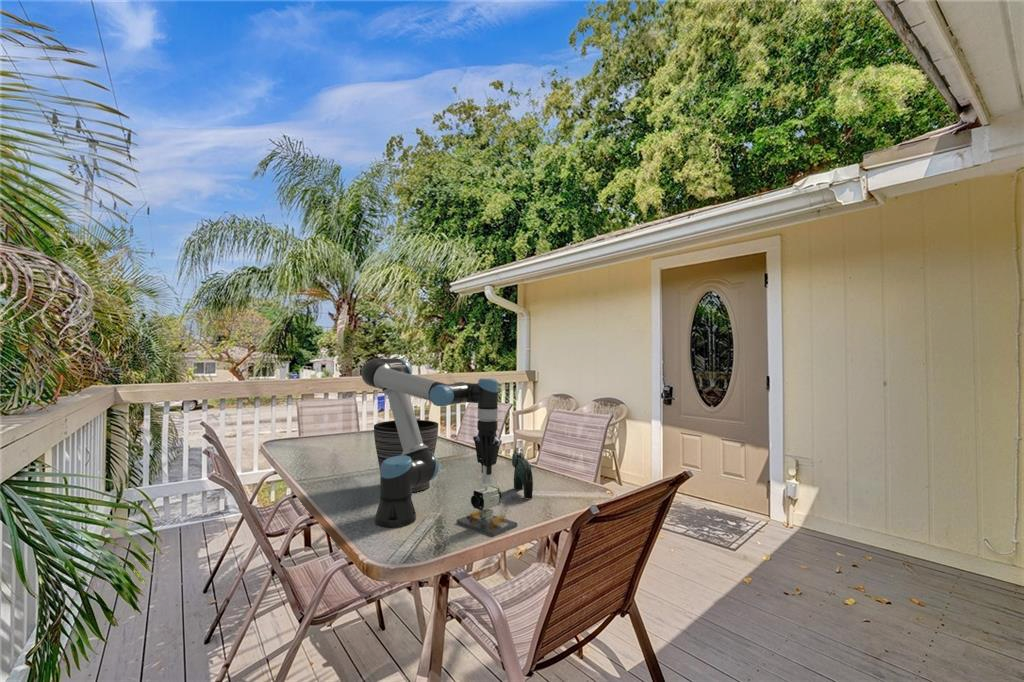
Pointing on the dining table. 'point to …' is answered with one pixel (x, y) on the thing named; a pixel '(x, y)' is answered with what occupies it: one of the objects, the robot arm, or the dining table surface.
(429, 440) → the planter pot
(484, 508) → the pneumatic valve
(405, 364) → the robot arm
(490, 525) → the rail plate
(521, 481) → the green spring clamp
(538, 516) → the dining table surface
